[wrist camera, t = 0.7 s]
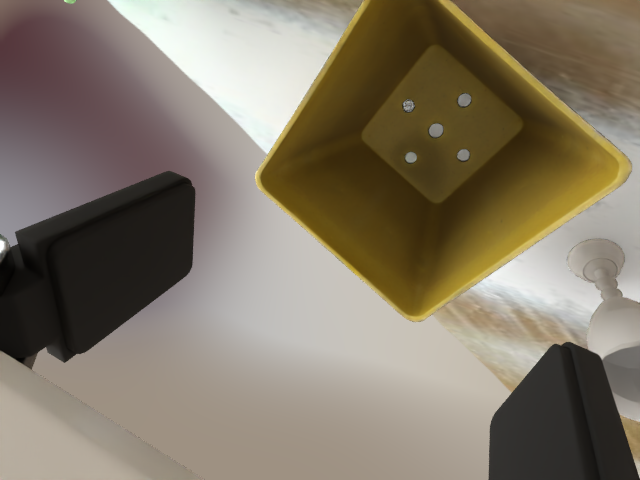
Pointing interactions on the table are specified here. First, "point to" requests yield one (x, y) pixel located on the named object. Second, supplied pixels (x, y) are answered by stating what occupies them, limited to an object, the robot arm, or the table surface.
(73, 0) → the gravy boat
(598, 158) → the flower pot
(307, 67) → the table surface
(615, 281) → the chalice
